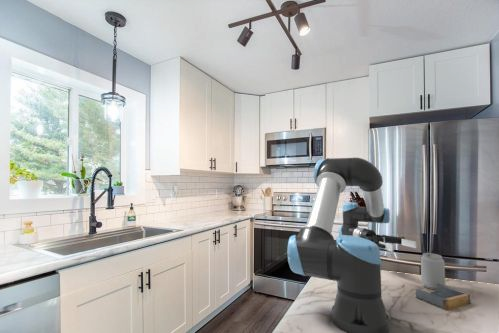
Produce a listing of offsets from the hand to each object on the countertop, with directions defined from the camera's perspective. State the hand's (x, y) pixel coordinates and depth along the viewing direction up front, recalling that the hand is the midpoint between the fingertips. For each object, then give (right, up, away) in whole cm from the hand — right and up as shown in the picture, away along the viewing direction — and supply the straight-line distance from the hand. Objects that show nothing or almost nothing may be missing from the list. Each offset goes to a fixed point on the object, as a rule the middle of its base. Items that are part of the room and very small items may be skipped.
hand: (404, 246), depth 112 cm
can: (+5, -12, -10) cm, 17 cm away
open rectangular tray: (0, -11, -22) cm, 25 cm away
